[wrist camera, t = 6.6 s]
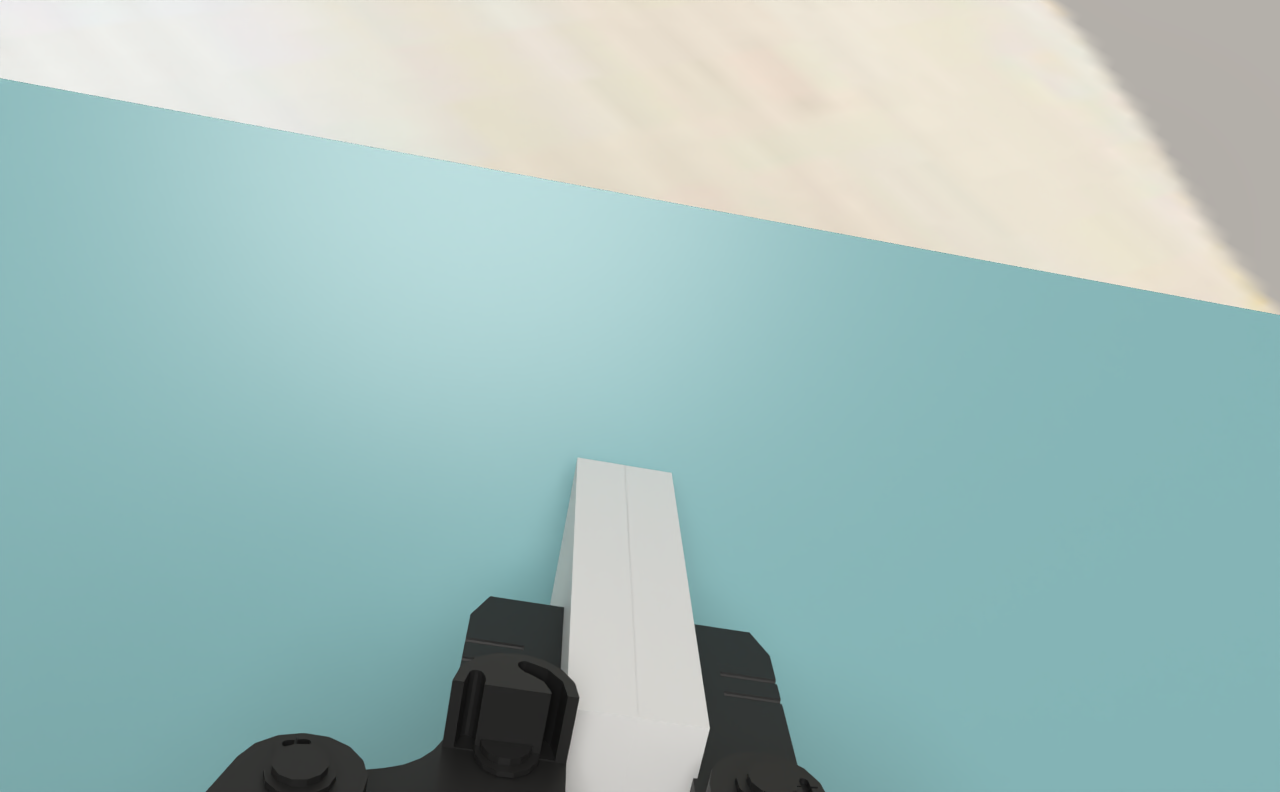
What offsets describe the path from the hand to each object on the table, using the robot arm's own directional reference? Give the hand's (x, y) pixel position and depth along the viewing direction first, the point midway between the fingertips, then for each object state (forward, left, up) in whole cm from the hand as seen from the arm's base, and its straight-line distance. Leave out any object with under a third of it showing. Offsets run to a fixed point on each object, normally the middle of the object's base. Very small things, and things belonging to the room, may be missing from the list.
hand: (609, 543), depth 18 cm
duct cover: (-1, +1, -2) cm, 2 cm away
